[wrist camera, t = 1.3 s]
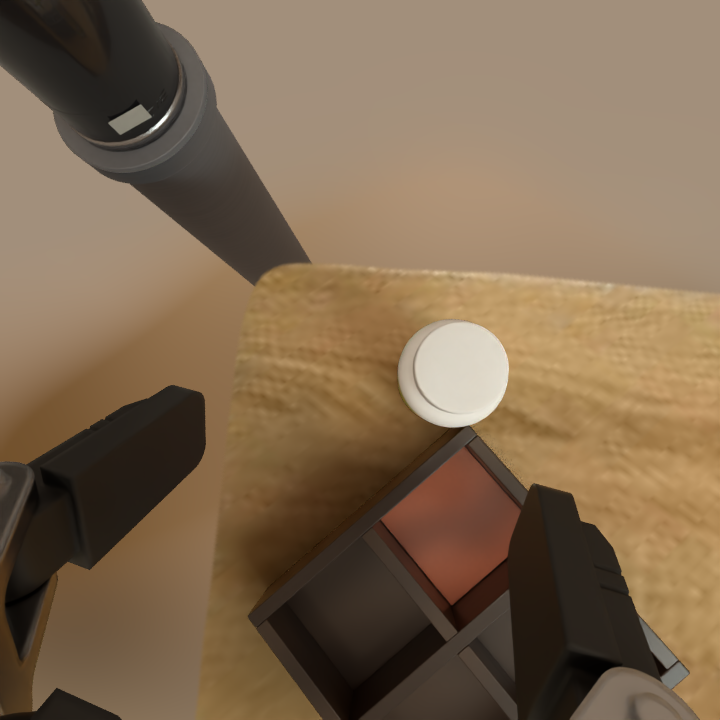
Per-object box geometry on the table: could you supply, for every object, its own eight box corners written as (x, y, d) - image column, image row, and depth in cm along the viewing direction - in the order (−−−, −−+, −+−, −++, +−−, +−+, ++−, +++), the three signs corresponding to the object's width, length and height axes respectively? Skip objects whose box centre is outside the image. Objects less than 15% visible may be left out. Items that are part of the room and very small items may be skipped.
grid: (266, 588, 27) (246, 616, 23) (458, 421, 27) (467, 423, 23) (439, 817, 25) (446, 887, 21) (649, 634, 25) (691, 673, 21)
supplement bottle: (380, 381, 28) (370, 368, 18) (437, 322, 28) (458, 279, 18) (440, 439, 27) (464, 458, 17) (498, 379, 27) (554, 365, 17)
